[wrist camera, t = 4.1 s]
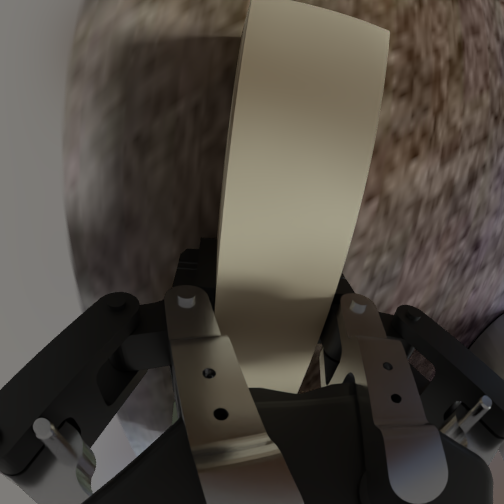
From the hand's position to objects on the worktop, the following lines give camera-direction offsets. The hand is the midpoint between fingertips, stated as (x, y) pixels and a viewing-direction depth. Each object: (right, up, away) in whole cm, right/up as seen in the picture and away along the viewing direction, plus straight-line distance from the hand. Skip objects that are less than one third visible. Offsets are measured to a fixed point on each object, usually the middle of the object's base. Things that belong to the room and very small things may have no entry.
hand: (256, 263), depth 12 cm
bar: (0, 0, +1) cm, 1 cm away
